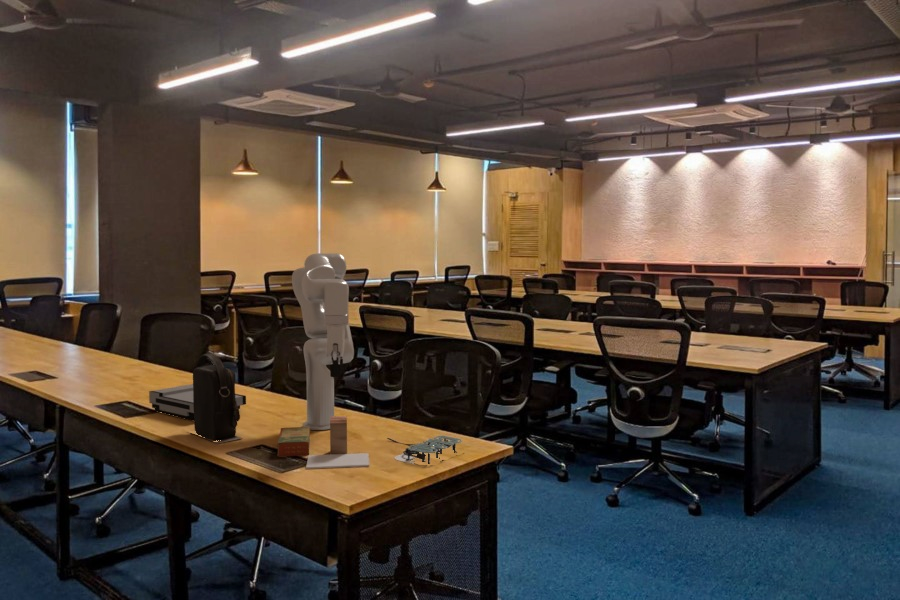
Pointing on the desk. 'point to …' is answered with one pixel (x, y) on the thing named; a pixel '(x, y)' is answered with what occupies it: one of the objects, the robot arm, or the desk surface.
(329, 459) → the grey mat
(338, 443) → the walnut block
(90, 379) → the desk surface
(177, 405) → the game console
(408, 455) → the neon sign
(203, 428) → the shoulder bag
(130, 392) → the desk surface
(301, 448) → the carton
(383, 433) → the desk surface
